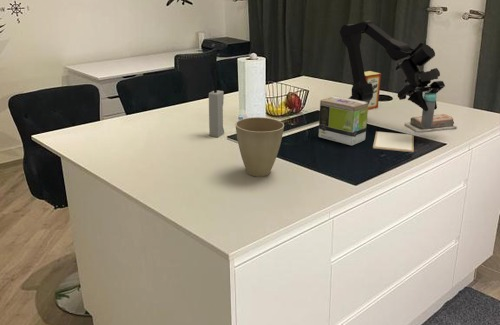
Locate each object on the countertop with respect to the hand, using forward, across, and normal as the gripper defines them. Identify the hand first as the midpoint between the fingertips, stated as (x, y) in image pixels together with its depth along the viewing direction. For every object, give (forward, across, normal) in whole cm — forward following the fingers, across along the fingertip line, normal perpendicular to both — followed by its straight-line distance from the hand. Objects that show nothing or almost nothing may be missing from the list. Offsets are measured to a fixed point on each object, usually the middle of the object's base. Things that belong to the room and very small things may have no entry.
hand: (431, 109), depth 190 cm
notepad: (+4, -10, +13) cm, 17 cm away
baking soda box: (-25, +12, +43) cm, 51 cm away
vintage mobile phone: (-22, -65, +40) cm, 79 cm away
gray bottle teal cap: (+4, 0, +6) cm, 7 cm away
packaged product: (0, +16, +19) cm, 24 cm away
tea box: (-4, -25, +22) cm, 34 cm away
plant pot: (+6, -69, +12) cm, 70 cm away
